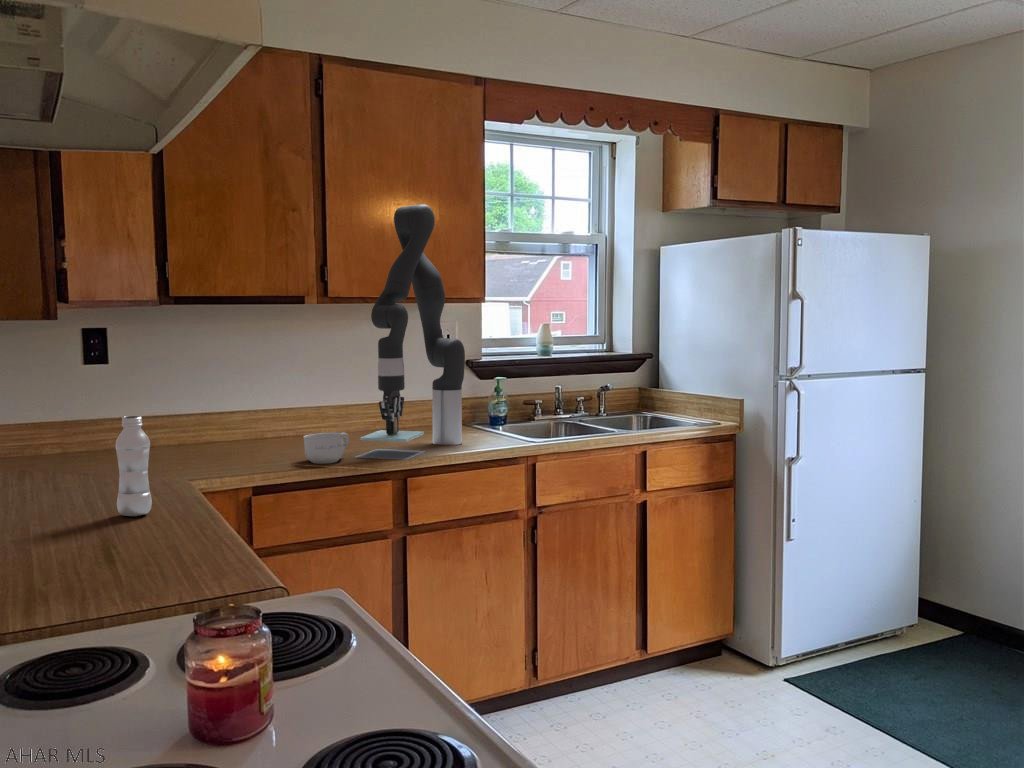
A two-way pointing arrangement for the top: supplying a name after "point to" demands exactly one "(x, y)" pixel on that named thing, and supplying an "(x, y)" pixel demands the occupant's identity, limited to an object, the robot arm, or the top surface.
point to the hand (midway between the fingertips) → (392, 432)
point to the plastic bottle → (133, 468)
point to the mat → (390, 454)
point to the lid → (392, 435)
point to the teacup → (325, 447)
